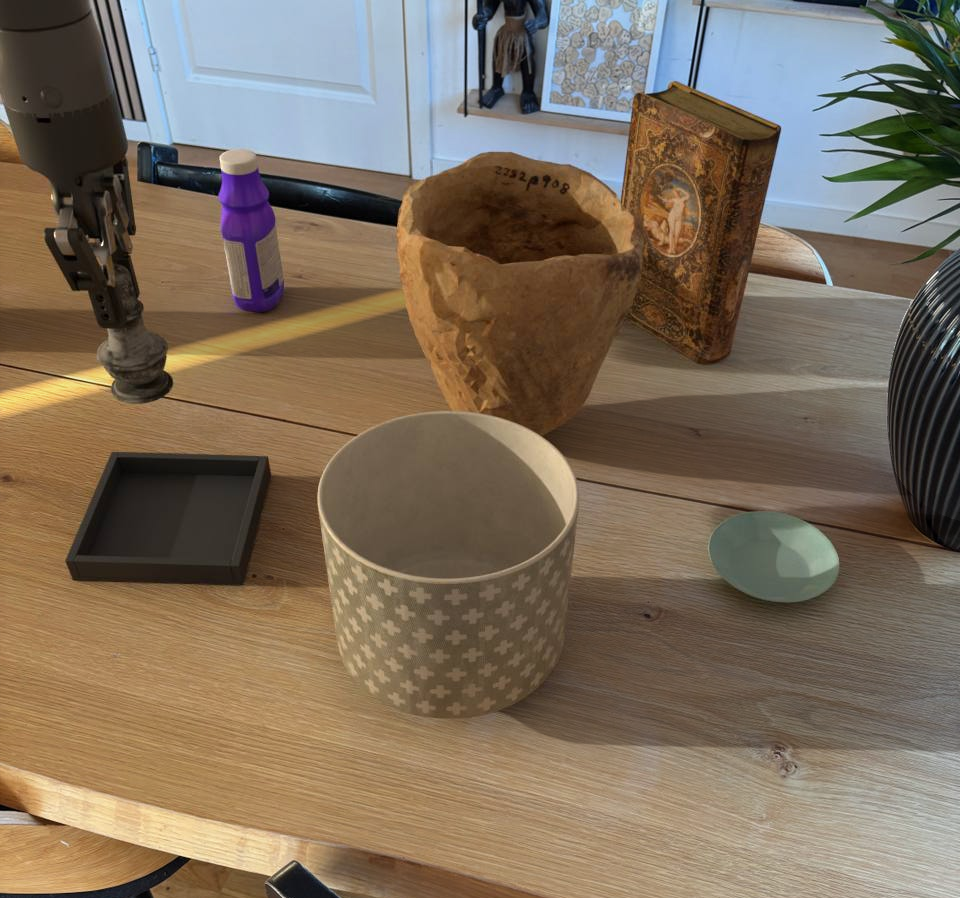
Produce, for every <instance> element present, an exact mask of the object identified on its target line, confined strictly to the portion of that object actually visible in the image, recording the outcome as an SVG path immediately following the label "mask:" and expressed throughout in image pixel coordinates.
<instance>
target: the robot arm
mask: <svg viewBox="0 0 960 898" xmlns="http://www.w3.org/2000/svg"><path fill="white" fill-rule="evenodd" d="M107 54H108V53H107V50H106V47H105V44H104V41H103V37H102V34H101V32H100V30H99V27H98V25H97V21H96V19H95V16H94V12H93V10H92V5H91V1H90V0H0V98H1V102H2V105H3V107H4V110H5V111H4V112H5V113H6V117H7V120H8V123H9V126H10V129H11V132H12V135H13V138H14V142H15V145H16V148H17V151H18V155H19V157H20V160H21V162H23V164H24V165H25V166H26V167H27V168H28V169H30V170H32V171H33V172H36V173H38V174H40V175H42V176H43V177H44V178H46V179H47V180H48V181H49V182H50V191H51V202H52V206H53V207H52V208H53V211H54V214H55V215H56V217H58V219H57V223H56V226H55V227H44V230H43V239H44V242H45V244H46V246H47V249H48V250H49V251H50V253H51V255H52V257H53V259H54V261H55V263H56V264H57V266H58V268H59V270H60V272H61V273H62V274H63V277H64V278H65V281H66V283H67V284H68V286H69V288H70V289H71V291H72V292H82V291H83V292H87V293H88V296H89V299H90V303H91V306H92V309H93V314H94V317H95V320H96V324H97V325H98V326H99V327H100V328H101V329H106V330H107V329H122V328H124V327H125V325H126V323H127V317H126V313H125V310H124V306H123V303H122V299H121V295H120V292H119V288H118V284H117V282H116V277H115V272H114V267H113V263H115V264H119V265H122V266H124V267H125V268H126V269H127V270H128V271H129V273H130V275H131V279H132V283H133V287H134V290H135V294H136V298H137V300H139V297H140V295H141V292H140V287H139V283H138V279H137V276H136V272H135V268H134V264H133V260H132V257H131V256H132V254H133V249H134V247H133V242H132V240H131V237H130V236H132V237H133V236H136V233H137V226H136V219H135V212H134V211H135V210H134V204H133V194H132V188H131V179H130V173H129V172H130V171H129V162H128V161H129V160H128V159H127V158H128V157H126V155H127V152H128V150H129V143H128V137H127V134H126V128H125V125H124V121H123V116H122V112H121V108H120V105H119V100H118V97H117V92H116V88H115V84H114V79H113V75H112V72H111V67H110V63H109V59H108V55H107ZM90 239H92V240H93V241H94V242H93V241H90ZM97 258H98V259H99V260H100V261H99V260H98V259H97ZM101 266H102V268H101Z"/></svg>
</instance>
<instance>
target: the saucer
mask: <svg viewBox="0 0 960 898" xmlns="http://www.w3.org/2000/svg"><path fill="white" fill-rule="evenodd" d="M707 551H708V557H709V559H710V562H711V564H712V566H713V568H714V569H715V571H716V572H717V573H718V575H720V577H721V578H723V580H724V581H725V582H727V583H728V584H729V585H731V586H732V587H734V589H736V590H738V591H740V592H741V593H743V594H746V595H747V596H750V597H752V598H755V599H758V600H762V601H766V602H770V603H771V602H772V603H798V602H804V601H808V600H811V599H814V598H817V597H819V596H820V595H822V594H824V593H826V592H827V591H828V590H829V589H830V588H831V587H832V586H833V585H834V584H835V582H836V581H837V579H838V576H839V573H840V558H839V555H838V552H837V550H836V548H835V546H834V544H833V543H832V541H831V540H830V539H829V538H828V537H827V536H826V535H825V534H824V533H823V532H822V531H821V530H819V529H818V528H817V527H815V526H814V525H813V524H811V523H809V522H807V521H805V520H803V519H802V518H799V517H798V516H797V517H796V516H793V515H791V514H786V513H783V512H778V511H769V510H756V511H747V512H741V513H738V514H735V515H732V516H730V517H728V518H726V519H724V520H723V521H721V522H720V523H719V524H718V525H717V526H716V527H715V528H714V529H713V531H712V533H711V534H710V537H709V539H708V546H707Z"/></svg>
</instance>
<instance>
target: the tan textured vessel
mask: <svg viewBox="0 0 960 898" xmlns="http://www.w3.org/2000/svg"><path fill="white" fill-rule="evenodd" d="M396 239H397V247H396V254H397V260H398V266H399V272H398V273H399V282H400V283H401V286H402V290H403V294H404V298H405V299H404V300H405V308H406V311H407V314H408V318H409V322H410V325H411V326H412V329H413V332H414V335H415V337H416V339H417V341H418V343H419V346H420V347H421V350H422V352H423V354H424V356H425V357H426V360H427V361H428V363H429V365H430V366H431V367H430V368H431V371H432V373H433V376H434V377H435V380H436V382H437V386H438V387H439V390H440V391H441V394H442V396H443V399H444V400H445V402H446V404H447V405H448V406H449V408H450V410H451V411H463V412H473V413H480V414H486V415H491V416H495V417H499V418H502V419H506V420H509V421H512V422H514V423H517V424H519V425H522V426H524V427H526V428H528V429H530V430H532V431H534V432H535V433H537V434H539V435H540V436H542V437H544V436H545V435H546V434H548V433H550V432H552V431H553V430H555V429H556V428H559V427H561V426H563V425H564V424H566V423H567V422H568V421H569V420H571V419H572V418H573V417H574V415H575V414H576V413H578V411H579V410H580V409H581V408H582V407H583V406H584V405H585V403H586V401H587V400H588V398H589V396H590V394H591V391H592V389H593V386H594V383H595V381H596V379H597V376H598V373H599V371H600V369H601V367H602V365H603V364H604V361H605V358H606V357H607V354H608V353H609V350H610V348H611V347H612V343H613V341H614V340H615V338H616V337H617V336H618V334H619V332H620V330H621V327H622V326H623V323H624V321H625V320H626V318H625V317H626V316H627V314H628V312H629V310H630V308H631V306H632V304H633V301H634V298H635V295H636V293H637V290H638V286H639V283H640V279H641V273H642V270H643V253H644V250H645V240H644V234H643V227H642V224H641V222H640V221H639V219H638V218H637V217H636V216H634V215H633V214H631V213H629V212H628V211H627V210H626V208H625V207H624V206H623V205H622V204H621V199H620V198H619V196H618V194H617V193H616V192H615V191H614V190H613V189H612V188H611V187H610V186H608V185H607V184H606V183H604V182H603V181H602V180H600V179H599V178H598V177H596V176H595V175H594V174H592V173H591V172H589V171H586V170H584V169H581V168H579V167H577V166H575V165H571V164H570V163H568V164H567V163H556V162H552V161H547V160H540V159H534V158H531V157H527V156H524V155H521V154H518V153H515V152H514V151H513V152H512V151H486V152H480V153H479V154H476V155H474V156H472V157H470V158H468V159H466V160H465V161H464V162H462V163H461V164H459V165H456V166H454V167H451V168H448V169H445V170H442V171H440V172H439V173H437V174H436V173H435V174H433V175H432V174H431V175H429V176H427V177H425V178H423V179H421V180H418V181H417V182H415V183H413V184H411V185H410V187H409V188H408V189H407V190H406V191H405V192H404V193H403V195H402V202H401V204H400V207H399V209H398V215H397V226H396Z"/></svg>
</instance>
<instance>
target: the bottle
mask: <svg viewBox="0 0 960 898" xmlns="http://www.w3.org/2000/svg"><path fill="white" fill-rule="evenodd" d="M219 166H220V170H221V187H220V190H219V192H218V201H219V203H220V205H222V207H221V215H220V232H221V236H222V242H223V248H224V253H225V258H226V264H227V270H228V277H229V282H230V288H231V295H232V298H233V301H234V303H235V306H236V307H237V308H238V309H240V310H242V311H248V312H254V313H265V312H269V311H270V310H272V309H274V307H276V306H277V305H278V304H279V302H280V301H281V300H282V297H283V295H284V290H285V280H284V273H283V266H282V259H281V252H280V246H279V245H280V243H279V237H278V230H277V223H276V220H277V219H276V214H275V212H274V210H273V207H272V206H271V204H270V202H269V198H270V192H269V189H268V188H267V186H266V185H265V184H264V182H263V180H262V178H261V174H260V169H259V164H258V157H257V154H256V153H255V152H254V151H253V150H251V149H247V148H236V149H235V148H233V149H229V150H226V151H225V152H223V153H221V154H220V155H219Z"/></svg>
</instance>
